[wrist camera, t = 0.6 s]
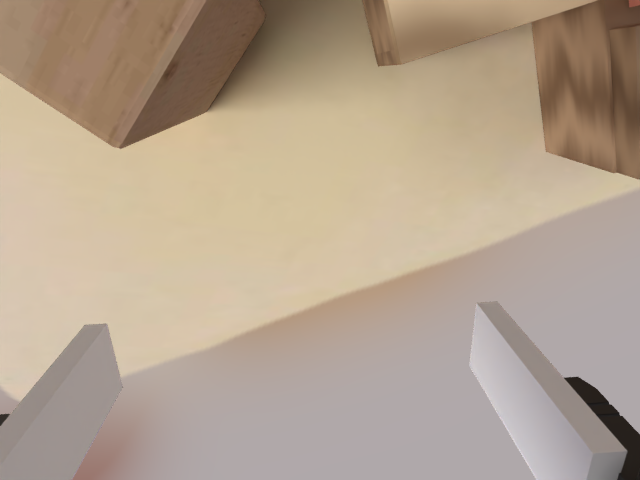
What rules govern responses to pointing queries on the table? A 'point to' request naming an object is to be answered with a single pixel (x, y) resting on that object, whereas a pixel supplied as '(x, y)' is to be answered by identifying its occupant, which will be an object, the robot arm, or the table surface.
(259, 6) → the wooden block
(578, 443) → the robot arm
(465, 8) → the lid
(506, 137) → the table surface
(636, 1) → the pink rectangular block
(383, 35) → the brown wooden open box
